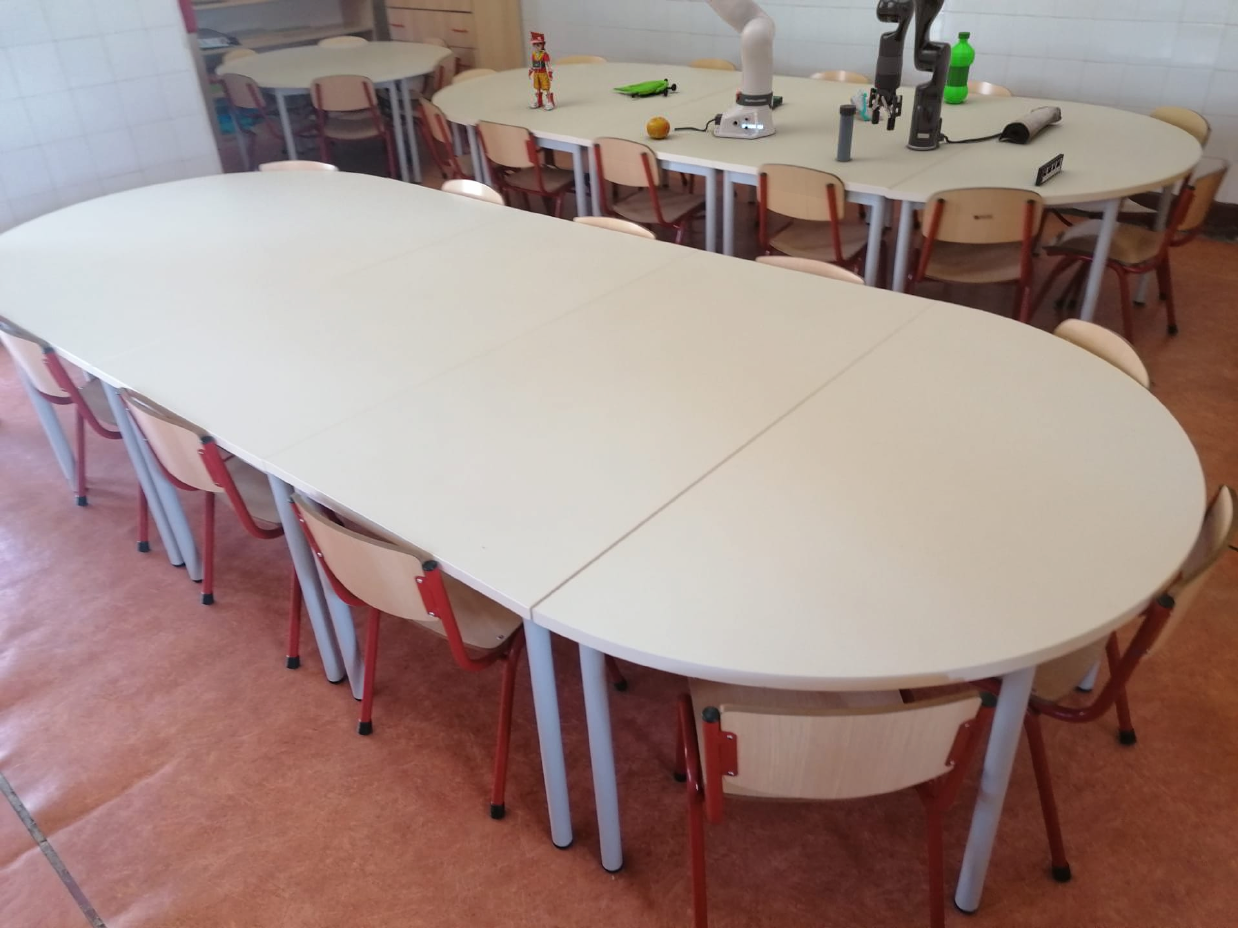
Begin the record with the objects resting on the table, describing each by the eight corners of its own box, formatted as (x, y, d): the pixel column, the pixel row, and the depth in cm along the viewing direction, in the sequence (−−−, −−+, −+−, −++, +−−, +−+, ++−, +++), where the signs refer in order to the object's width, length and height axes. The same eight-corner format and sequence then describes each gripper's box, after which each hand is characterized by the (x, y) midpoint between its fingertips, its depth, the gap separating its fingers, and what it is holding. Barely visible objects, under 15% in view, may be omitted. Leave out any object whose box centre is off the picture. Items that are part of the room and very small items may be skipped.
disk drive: (768, 112, 357) (782, 103, 367) (768, 105, 355) (783, 96, 365) (744, 110, 362) (759, 101, 372) (744, 103, 360) (759, 94, 370)
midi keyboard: (1039, 185, 269) (1043, 168, 266) (1035, 184, 270) (1038, 168, 267) (1060, 170, 279) (1064, 154, 277) (1056, 169, 280) (1060, 153, 277)
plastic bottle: (973, 101, 354) (984, 32, 339) (955, 106, 349) (966, 36, 335) (952, 97, 361) (962, 29, 346) (934, 102, 356) (944, 33, 342)
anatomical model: (845, 89, 345) (871, 82, 345) (847, 116, 351) (873, 109, 351) (856, 98, 333) (883, 91, 332) (859, 126, 339) (885, 119, 338)
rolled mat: (1028, 111, 326) (1053, 93, 318) (1042, 132, 326) (1067, 115, 318) (994, 134, 309) (1019, 116, 300) (1008, 156, 309) (1034, 139, 301)
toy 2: (686, 85, 398) (631, 84, 414) (685, 72, 395) (629, 72, 411) (651, 104, 381) (596, 103, 397) (650, 92, 378) (594, 91, 394)
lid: (836, 113, 293) (836, 106, 292) (849, 111, 295) (850, 103, 294) (845, 116, 290) (846, 109, 288) (858, 114, 291) (859, 106, 290)
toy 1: (525, 109, 381) (517, 32, 364) (534, 104, 388) (527, 28, 371) (550, 110, 377) (543, 32, 360) (559, 105, 384) (553, 28, 367)
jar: (833, 159, 302) (838, 107, 292) (844, 157, 303) (849, 105, 294) (841, 162, 298) (846, 110, 289) (852, 160, 300) (857, 108, 290)
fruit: (639, 130, 331) (651, 110, 328) (647, 132, 339) (658, 113, 336) (657, 142, 330) (669, 123, 327) (664, 145, 338) (676, 126, 335)
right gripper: (913, 73, 261) (906, 131, 271) (886, 65, 273) (880, 120, 282) (891, 76, 260) (884, 134, 269) (864, 68, 271) (859, 123, 280)
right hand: (882, 127), depth 275 cm, fingers open, 8 cm apart
